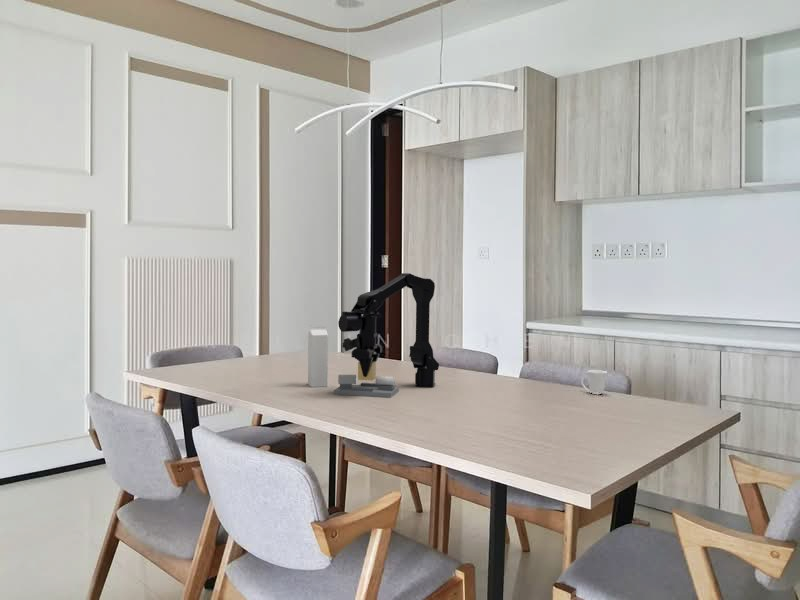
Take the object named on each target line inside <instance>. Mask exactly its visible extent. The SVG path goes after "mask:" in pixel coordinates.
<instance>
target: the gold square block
mask: <svg viewBox="0 0 800 600" xmlns="http://www.w3.org/2000/svg"><path fill="white" fill-rule="evenodd" d="M376 371H377V361H372V363H371V366H370V369H369V372H368V375H367V377H364V376H363V373H362V369H361V365H360V362H359V361H358V362H357V380H358V381H371V382H372V381H374V380H376V376H377V372H376Z"/></svg>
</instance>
